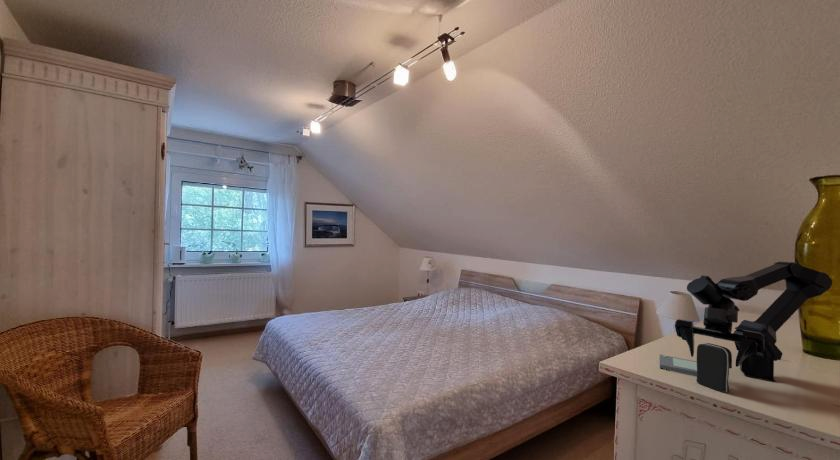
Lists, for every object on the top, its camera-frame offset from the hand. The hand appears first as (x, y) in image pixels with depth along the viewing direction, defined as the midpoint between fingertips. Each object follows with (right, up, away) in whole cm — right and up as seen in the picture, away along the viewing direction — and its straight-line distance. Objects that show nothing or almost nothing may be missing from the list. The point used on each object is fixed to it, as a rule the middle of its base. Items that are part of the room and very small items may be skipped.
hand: (713, 360), depth 92 cm
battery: (0, -7, 0) cm, 8 cm away
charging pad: (+4, -8, +14) cm, 16 cm away
